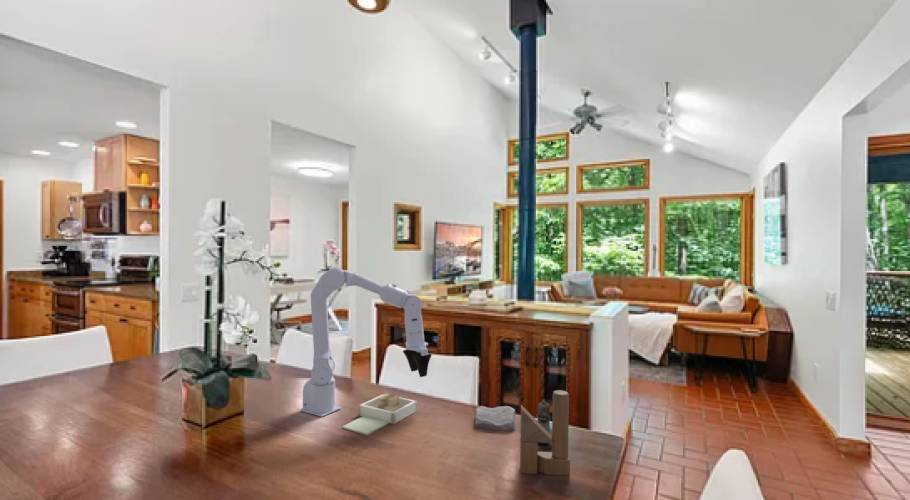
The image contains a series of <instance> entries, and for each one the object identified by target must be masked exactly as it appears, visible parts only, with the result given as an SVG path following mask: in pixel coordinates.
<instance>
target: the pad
mask: <svg viewBox="0 0 910 500" xmlns="http://www.w3.org/2000/svg"><path fill="white" fill-rule="evenodd" d="M387 425H389V423H388V422H387V421H383V420H379V419H375V418H371V417H367V416H361V417H359V418H357V419H355V420H352V421H350V422H349V423H346V424H344V425H342V427H341V428H342V429H344V430H347V431H351V432H354V433H358V434H360V435H365V436H369V435H371V434H373V433H374V432H376V431H378V430H379V429H382V428H383V427H385V426H387Z"/></svg>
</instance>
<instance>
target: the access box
mask: <svg viewBox="0 0 910 500" xmlns="http://www.w3.org/2000/svg"><path fill="white" fill-rule="evenodd" d="M385 394H386V393H383V394H381V395H378V396H376V397H374V398H372V399H370V400H368V401H365V402H363V403H361V404H358V416H361V417H363V416H367V417H371V418H375V419H379V420H383V421H387V422H388V424H391V425H394V424H397V423H398V422H400V421H402V420H403V419H405V418H407V417H409V416H410V415H412V414H414V413H416V412H418V400H415V399H410V398H405V397H401V396H399V409H398V410H396V411H394V412H392V411H387V410H383V409H379V408H378V398H379V397H381V396H383V395H385Z"/></svg>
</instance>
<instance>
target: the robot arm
mask: <svg viewBox="0 0 910 500" xmlns="http://www.w3.org/2000/svg"><path fill="white" fill-rule="evenodd" d="M344 284H345V287H355V286H357V287H359V288H361V289H364V290H366V291H369V292H371V293H374V294H376V295H379V298H380V301H382V302H385V303H387V304H388V305H391V306H394V307H396V308H398V309H401V308H403V311H404V327H405V337H406V338H405V339H406V341H405V348H406V349H403V350H402V353H403V355H404V356H405V357H406V359H407V364H408V365H409V368H410V371H411V372H416V371H417V372H418V375H419V377H420V378H422V377H423V378H425V377H427V375H428V370H429V369H428V368H429V364H430V360H431V358H432V353H431V352H429V351H428V350H429V349H428V348H427V346H429V343H428V342H426V341H425V334H424V323H423V315H422V308H423V302H422V301H421V299H420V297H419V296H418V295H416V294H415V293H413V292H411V291H410V290H404V289H402V288H400V287H397V284H395V283H392V284H391V283H387V284H385V285H382V284H380V283H378V282H376V281H374V280H372V279H370V278H367V277H366V276H364V275H361V274H360V273H357V272H354V271H351V270H347V269H343V268H341V267H338V266H337V267H332V268H330V269H328V270H327V271H326V272H325V273H323V274H322V275H321V276H320V277H319V279H318V281H317V282H316V284H315V286H314V287H313V289H312V290H311V292H310V306H311V307H310V308H311V309H310V310H311V325H312V340H313V344H312V345H313V357H312V358H313V360H312V364H313V366H312V368H311V371H310V378H311V379H308V380H307V381H306V382H304V383H305V384H304V385H303V389H302V408H300V410H299V411H300V412H303V413H307V414H311V415H315V416H318V417H325V416H327V415H330V414H332V413H334V412H336V411H338V410H340V409H342V408H341V406H338V405H336V404H335V403H336V379H335V377H334V376H333V375H334V374H333V373H334V371H335V368H336V367H335V365H336V364H335V361H334V360H333V358H332V352H331V345H330V343H331V342H330V332H329V331H330V329H329V313H328V311H329V310H328V298H329V297H330V296H331V295H332V294H333V293H334V292H335V291H337V290H338V289H341V288H342V287H343V286H344Z"/></svg>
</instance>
